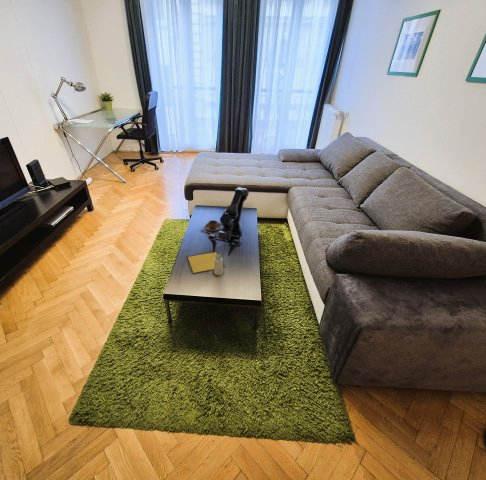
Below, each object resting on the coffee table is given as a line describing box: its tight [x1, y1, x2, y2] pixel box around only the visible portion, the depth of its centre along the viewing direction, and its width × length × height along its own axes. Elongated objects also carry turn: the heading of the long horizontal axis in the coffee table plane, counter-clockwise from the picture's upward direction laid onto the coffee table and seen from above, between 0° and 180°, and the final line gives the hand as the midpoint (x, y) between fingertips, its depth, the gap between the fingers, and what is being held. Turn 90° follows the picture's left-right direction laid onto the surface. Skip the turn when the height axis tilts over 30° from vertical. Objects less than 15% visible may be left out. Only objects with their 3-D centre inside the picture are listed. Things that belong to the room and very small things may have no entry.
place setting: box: [201, 219, 222, 234], centre depth 196 cm, size 18×20×6 cm
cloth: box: [187, 251, 225, 274], centre depth 164 cm, size 19×16×1 cm
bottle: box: [213, 253, 224, 276], centre depth 153 cm, size 5×5×12 cm
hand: (220, 254), depth 154 cm, fingers open, 9 cm apart
